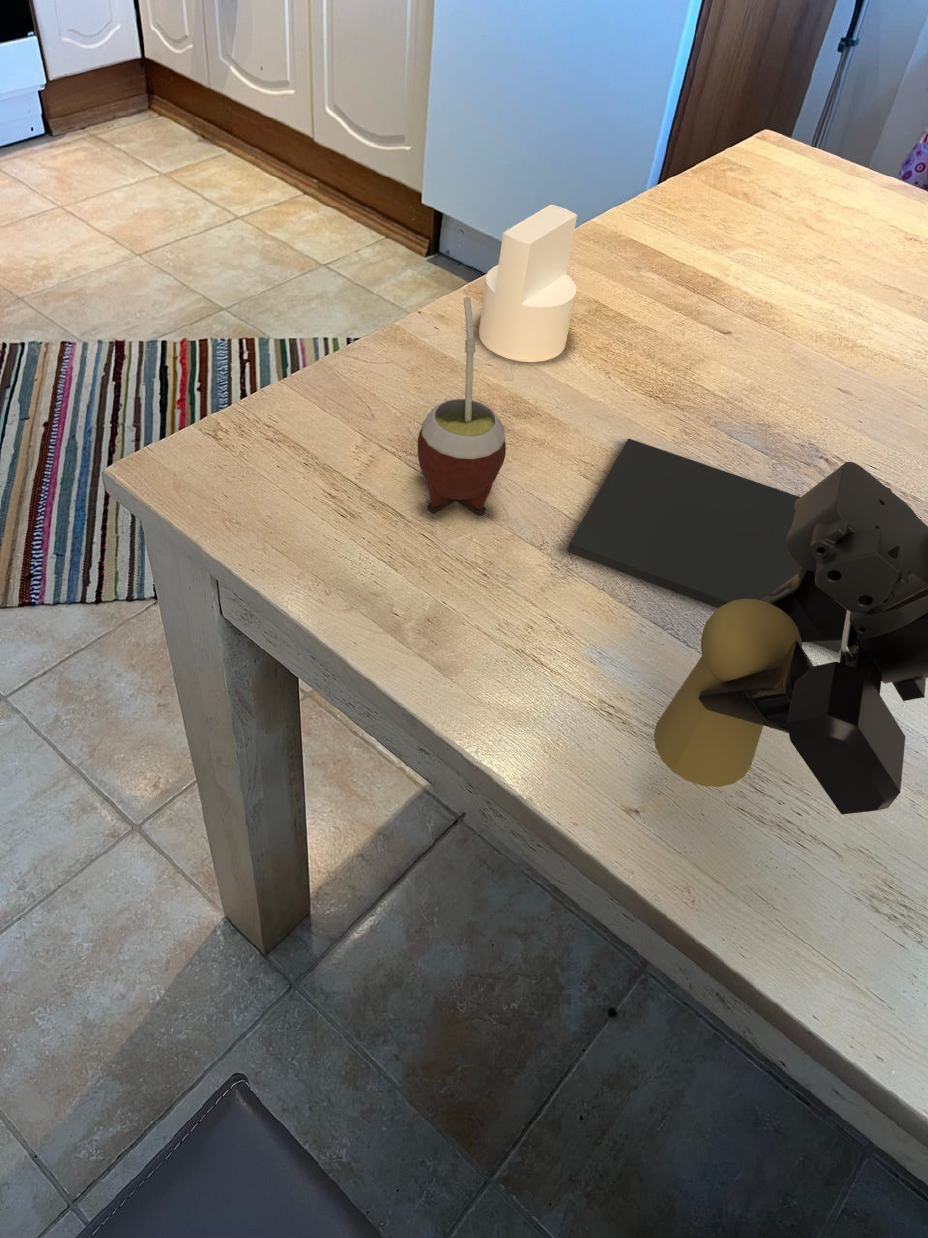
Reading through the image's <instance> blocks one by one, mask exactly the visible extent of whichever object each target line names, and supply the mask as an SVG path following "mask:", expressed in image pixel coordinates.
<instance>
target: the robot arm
mask: <svg viewBox="0 0 928 1238" xmlns="http://www.w3.org/2000/svg"><path fill="white" fill-rule="evenodd" d="M799 497H800V498H799V499H797V500H796V502H795V505H794V510H796V511H795V515H794V519H793V523H792V527H791V529H790V531H789V532H788V534H787V537H786V547H787V550H788V552H789V554H790V556H791V557H792V558H793V560H794V561H795V562H796V563H797V564H799V565H800V566H801V567H802V569H801V570H800V572H799V573H798V574H796V575H795V576H794V577H792V578H791V579H790V580H788V581H787V582H786V583H784V584H783V585H782V586H780V587H779V588H777V589H776V590H774V591H773V592H771V593H770V594H768V596H765V597H764V598H762V599H761V600H760V601H764V602H767V603H770V604H772V605H774V606H776V607H778V608H779V609H781V610H782V611H784V612H785V613H786V614H787V615H788V616H789V617H791V619H792V620H793V621H794V623H795V624H796V626H797V627H798V630H799V634H800V637H801V640H802V643H811V642H819V641H839V640H842V643H841V649H840V657H839V661H832V662H827V663H823V664H817V665H814V664H813V662H812V660H811V659H810V657H809V656H808V655H807V653H806V652H805V650H804V649H803V646H802V647H801V645H800V644H799V642H798V641H797V640H796V641H794V642H793V644H792V645H791V647H790V649H789V651H788V653H787V654H786V656H785V658H784V660H783V661H782V663H781V664H780V665H779V666H778V667H775V668H771V669H768V670H765V671H761V672H758V673H754V674H751V675H748V676H744V677H741V678H737V679H734V680H731V681H727V682H724V683H721V684H718V685H715V686H713V687H710V688H708V689H705V690H703V691H701V692H700V693H699V696H698V699H699V701H700V702H701V704H702V705H703V706H704V708H705V709H707V710H709V711H713V712H716V713H720V714H723V715H727V716H731V717H734V718H738V719H741V720H745V721H749V722H752V723H756V724H759V725H763V727H767V728H769V729H773V730H777V731H780V732H783V733H786V734H788V735H789V741H790V743H791V744H792V746H793V747H794V749H795V750H796V751H797V753H798V754H799V756H800V758H801V759H802V760H803V761H804V762H805V764H806V766H807V767H808V769H809V770H810V771H811V773H812V774H813V776H814V777H815V779H816V780H817V782H818V784H820V786H821V788H822V789H823V790H824V792H825V793H826V795H827V796H828V797H829V799H830V800H831V802H832V804H834V806H835V808H836V809H837V811H838V812H839V814H840V815H850V814H859V813H868V812H876V811H881V810H886V809H889V808H890V806H891V805H892V804H893V803H894V802H895V800H896V799H897V798H898V796H899V795H900V794H901V792H902V791H901V789H902V779H903V768H904V756H905V745H906V734H905V733H904V732H903V730H902V728H901V727H900V725H899V723H898V722H897V720H896V718H895V717H894V716H893V714H892V712H891V710H890V709H889V707H888V705H887V704H886V702H885V700H883V698H882V696H881V688H882V683H883V684H890V683H892V685H893V687H894V689H895V690H896V692H897V693H898V696H899V697H900V698H901V700H902V702H907V701H912V700H917V699H923V698H925V695H926V684H927V683H926V682H927V679H928V525H927V524H926V523H925V522H924V521H923V520H922V519H921V518H919V517H918V515H917V514H916V513H915V511H914V510H913V508H911V506H910V505H908V503H906V502H905V501H904V500H903V499H902V498H901V497H900V496H898V495H897V494H896V493H894V492H893V491H892V489H891V487H888V486H885V485H884V484H883V483H882V482H880V480H878V479H877V478H876V477H874V475H872V474H871V473H870V472H869V471H867V470H866V469H864V468H863V467H862V466H861V465H860V464H858V463H856V462H854V461H846V462H844V463H843V464H842V465H840V466H838V467H837V468H836V469H835V470H833V472H831V473H830V474H828V475H827V476H826V477H824V478H823V479H822V480H821V481H819V482H818V483H817V484H816V485H814V486H813V487H812V488H810V489H809V490H807V492H805V493H804V494H802V495H801V496H799Z"/></svg>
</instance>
